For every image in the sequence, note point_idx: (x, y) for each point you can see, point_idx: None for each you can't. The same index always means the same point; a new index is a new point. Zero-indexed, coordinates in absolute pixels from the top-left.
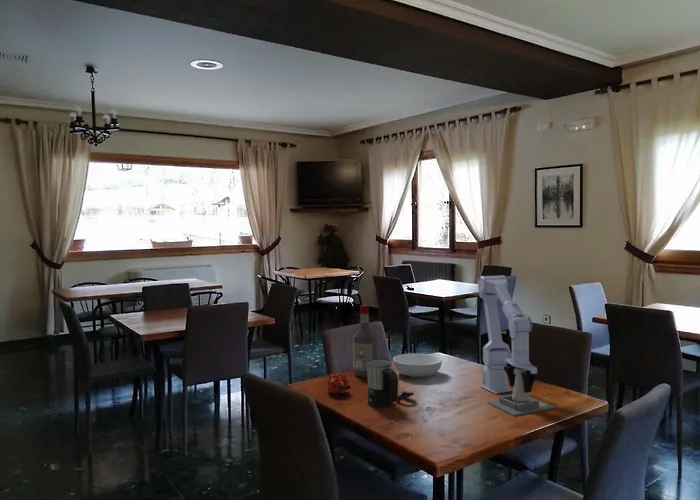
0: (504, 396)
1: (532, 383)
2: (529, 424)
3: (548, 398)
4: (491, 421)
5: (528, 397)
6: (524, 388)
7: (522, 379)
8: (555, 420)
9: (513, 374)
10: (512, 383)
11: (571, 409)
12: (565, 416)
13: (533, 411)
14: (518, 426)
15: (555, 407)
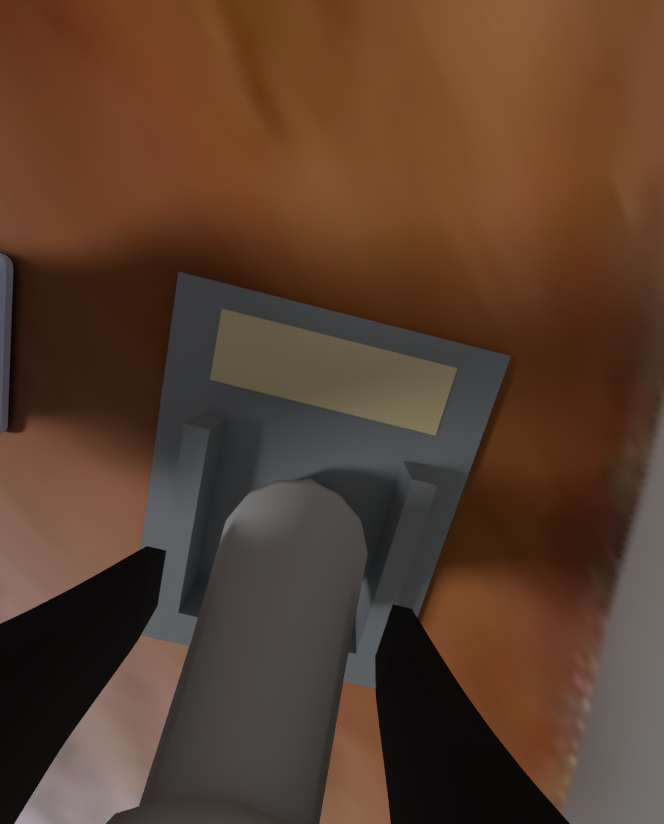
0: (178, 588)
1: (472, 722)
2: (523, 714)
3: (329, 167)
4: (354, 803)
5: (362, 542)
6: (382, 713)
7: (318, 810)
8: (612, 565)
9: (29, 733)
10: (139, 622)
11: (611, 278)
12: (635, 454)
13: (436, 553)
14: None
15: (506, 358)
